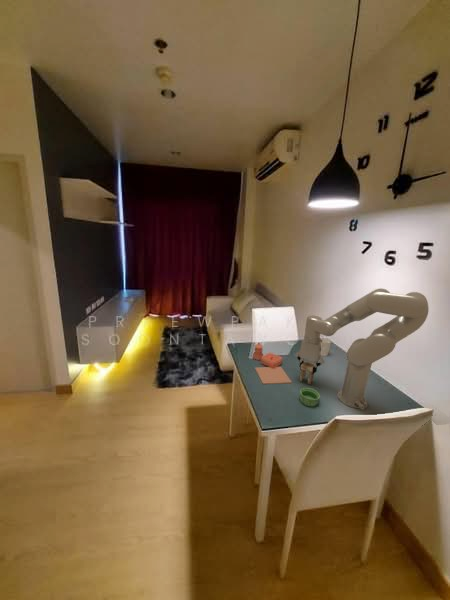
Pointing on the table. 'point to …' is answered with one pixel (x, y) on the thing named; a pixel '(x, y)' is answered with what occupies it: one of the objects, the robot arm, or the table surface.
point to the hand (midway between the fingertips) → (307, 370)
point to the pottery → (266, 357)
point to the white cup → (325, 346)
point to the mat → (272, 375)
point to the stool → (307, 370)
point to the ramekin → (309, 396)
